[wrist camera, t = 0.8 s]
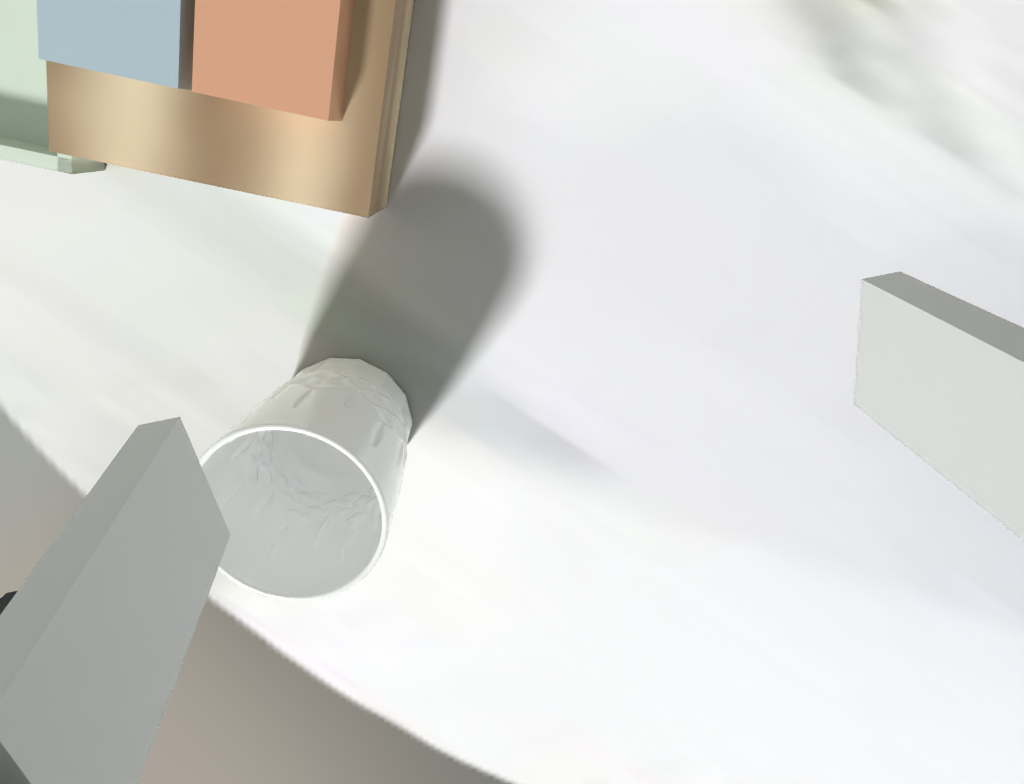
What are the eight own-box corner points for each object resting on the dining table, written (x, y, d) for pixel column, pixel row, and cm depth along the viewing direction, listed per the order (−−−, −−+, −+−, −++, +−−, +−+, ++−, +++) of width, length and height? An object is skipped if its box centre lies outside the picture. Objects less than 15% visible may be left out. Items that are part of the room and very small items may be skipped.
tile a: (357, -22, 26) (343, -33, 24) (341, 120, 28) (328, 120, 26) (221, -52, 26) (197, -66, 24) (214, 93, 28) (191, 91, 26)
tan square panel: (426, -92, 29) (411, -124, 25) (386, 206, 33) (368, 217, 29) (103, -167, 28) (37, -211, 24) (104, 147, 32) (49, 151, 29)
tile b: (207, -55, 26) (183, -69, 24) (201, 90, 28) (178, 88, 26) (69, -87, 26) (33, -103, 24) (72, 63, 27) (38, 58, 25)
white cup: (253, 358, 36) (155, 442, 26) (404, 333, 35) (359, 409, 26) (297, 494, 39) (222, 613, 29) (438, 472, 38) (408, 587, 29)
